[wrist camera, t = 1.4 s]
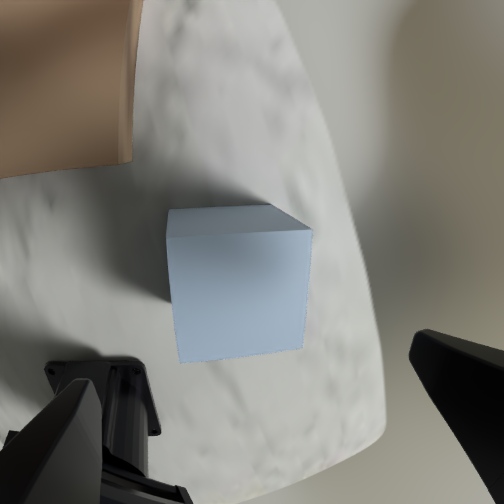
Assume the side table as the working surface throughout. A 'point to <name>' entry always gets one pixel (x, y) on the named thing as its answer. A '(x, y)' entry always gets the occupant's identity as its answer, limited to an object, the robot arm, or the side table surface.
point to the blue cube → (237, 281)
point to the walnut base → (66, 83)
